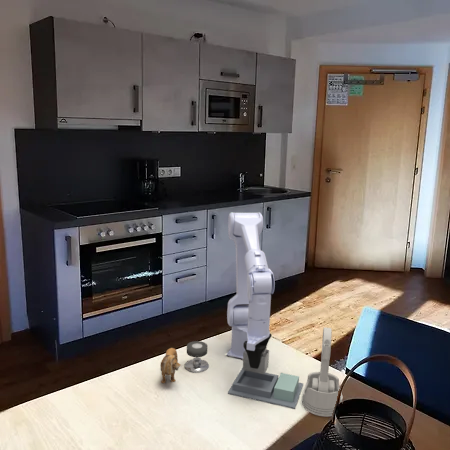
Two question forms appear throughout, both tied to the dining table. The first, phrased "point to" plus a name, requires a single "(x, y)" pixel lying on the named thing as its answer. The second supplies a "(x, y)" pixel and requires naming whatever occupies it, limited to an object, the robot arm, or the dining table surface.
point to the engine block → (262, 365)
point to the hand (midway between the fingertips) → (256, 363)
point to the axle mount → (196, 365)
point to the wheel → (196, 349)
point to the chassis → (268, 388)
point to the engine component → (322, 384)
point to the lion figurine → (169, 364)
